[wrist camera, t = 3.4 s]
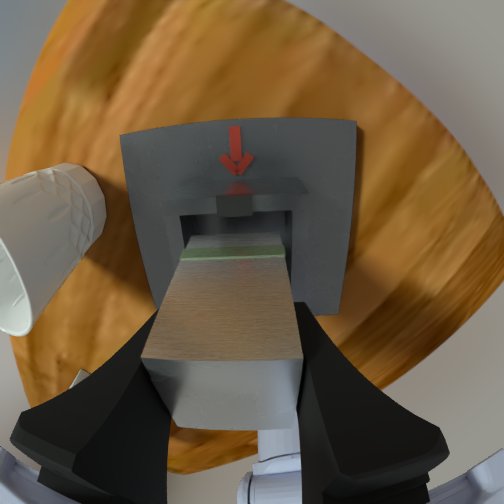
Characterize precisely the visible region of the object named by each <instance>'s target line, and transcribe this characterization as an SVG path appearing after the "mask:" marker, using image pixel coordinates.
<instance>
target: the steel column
mask: <svg viewBox="0 0 504 504" xmlns="http://www.w3.org/2000/svg"><path fill="white" fill-rule="evenodd" d="M179 259H180V262H179V264H178V267H177V269H176V271H175V273H174V276H173V278H172V280H171V283H170V285H169V287H168V290H167V292H166V294H165V297H164V299H163V302H162V304H161V306H160V309H159V311H158V314H157V316H156V319H155V321H154V324H153V326H152V329H151V331H150V334H149V336H148V339H147V342H146V344H145V347H144V349H143V352H142V355H141V360H142V362H143V364H144V366H145V368H146V370H147V372H148V374H149V376H150V378H151V380H152V382H153V384H154V386H155V387H156V389H157V391H158V393H159V395H160V397H161V399H162V400H163V402H164V404H165V406H166V407H167V409H168V411H169V413H170V414H171V416H172V418H173V419H174V421H175V423H176V424H177V426H178V427H186V428H197V429H214V430H273V429H290V428H293V422H294V417H295V411H296V405H297V399H298V392H299V386H300V379H301V372H302V365H303V353H302V347H301V342H300V336H299V330H298V325H297V319H296V314H295V308H294V303H293V297H292V292H291V287H290V282H289V277H288V271H287V266H286V254H285V249H284V245H282V242H281V237H280V232H265V233H240V234H217V235H196V236H191V238H190V240H189V242H188V245H187V247H186V249H183V251H182V254H181V256H180V258H179Z"/></svg>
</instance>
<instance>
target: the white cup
mask: <svg viewBox="0 0 504 504" xmlns="http://www.w3.org/2000/svg"><path fill="white" fill-rule="evenodd" d="M106 217H107V214H106V206H105V197H104V194H103V192H102V190H101V188H100V186H99V184H98V182H97V180H96V178H95V177H94V176H92V175H91V174H90V173H89V172H88V171H87V170H86V169H84V168H83V167H82V166H80V165H75V164H70V163H62V164H59V165H56V166H53V167H50V168H47V169H44V170H38V171H34V172H30V173H27V174H25V175H22V176H19V177H16V178H13V179H10V180H7V181H5V182H3V183H0V330H2V331H4V332H5V333H8V334H10V335H13V336H24V335H26V334H28V333H29V332H30V330H31V329H32V327H33V326H34V324H35V323H36V321H37V320H38V318H39V317H40V315H41V314H42V312H43V311H44V309H45V308H46V307H47V305H48V304H49V302H50V301H51V300H52V298H53V297H54V296H55V294H56V293H57V292H58V290H59V289H60V288H61V286H62V285H63V284H64V282H65V281H66V280H67V278H68V277H69V275H70V274H71V272H72V271H73V270H74V269H75V268H76V266H77V265H78V263H79V262H80V261H81V260H82V258H83V256H84V254H85V252H86V251H87V250H88V249H89V247H90V246H91V245H92V244H93V243H94V242H95V241H96V240H97V239H98V237H99V236H100V235H101V234H102V231H103V228H104V224H105V221H106Z"/></svg>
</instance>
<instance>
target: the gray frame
mask: <svg viewBox="0 0 504 504" xmlns="http://www.w3.org/2000/svg"><path fill="white" fill-rule="evenodd" d="M356 124H357V121H352V120H340V119H322V118H250V119H232V120H219V121H208V122H198V123H189V124H181V125H174V126H167V127H161V128H154V129H149V130H143V131H138V132H132V133H127V134H123V135H120V143H121V150H122V158H123V165H124V171H125V178H126V184H127V190H128V195H129V201H130V206H131V211H132V216H133V221H134V225H135V230H136V234H137V239H138V243H139V247H140V251H141V256H142V260H143V263H144V267H145V271H146V275H147V278H148V282H149V286H150V289H151V293H152V296H153V299H154V303H155V306H156V309H157V310H158V309H159V308H160V306H161V304H162V302H163V299H164V297H165V294H166V292H167V290H168V287H169V285H170V283H171V280H172V278H173V276H174V273H175V271H176V269H177V267H178V264H179V262H180V259H179V258H180V256H181V254H182V251H183V249H186V247H187V245H188V242H189V240H190V238H191V236H196V235H217V234H240V233H265V232H280V237H281V242H282V245H284V249H285V254H286V266H287V271H288V277H289V282H290V287H291V292H292V297H293V302H305V303H306V304H307V306H308V307H309V309H310V311H311V312H312V314H313V315H314V316H319V315H332V314H338V311H339V306H340V300H341V294H342V288H343V282H344V275H345V268H346V261H347V254H348V246H349V237H350V228H351V218H352V208H353V195H354V181H355V163H356Z"/></svg>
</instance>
